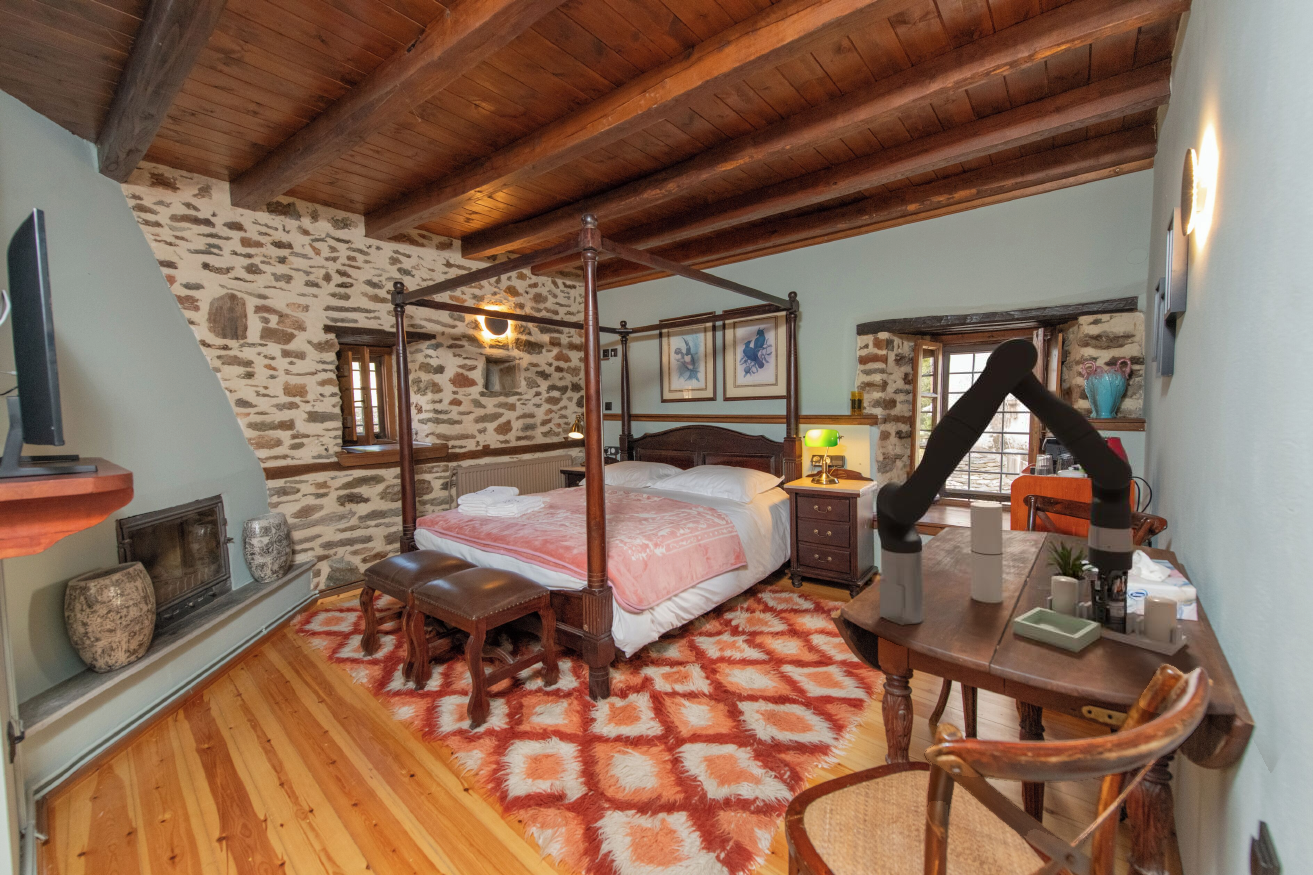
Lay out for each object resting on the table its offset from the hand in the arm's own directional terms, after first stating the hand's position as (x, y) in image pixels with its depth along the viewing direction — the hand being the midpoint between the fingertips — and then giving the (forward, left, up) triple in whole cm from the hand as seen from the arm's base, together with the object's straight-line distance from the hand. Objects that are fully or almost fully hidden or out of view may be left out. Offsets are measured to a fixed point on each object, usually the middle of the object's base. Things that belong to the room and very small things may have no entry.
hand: (1109, 619), depth 120 cm
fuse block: (0, 0, -3) cm, 3 cm away
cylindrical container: (0, +26, -3) cm, 26 cm away
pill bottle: (0, 0, -3) cm, 3 cm away
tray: (-11, +6, -3) cm, 13 cm away
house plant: (+14, +14, -3) cm, 20 cm away
